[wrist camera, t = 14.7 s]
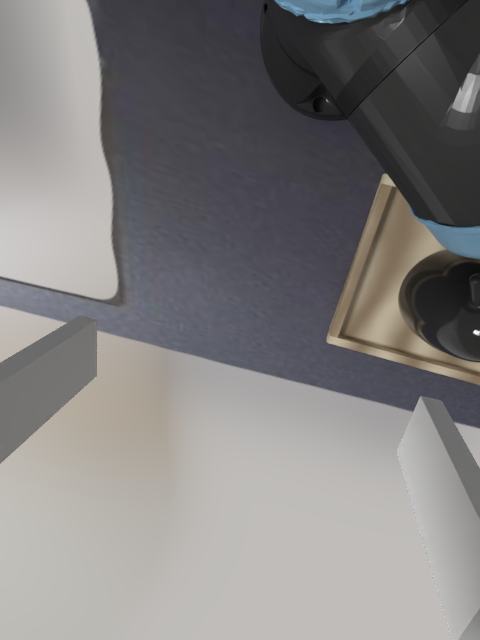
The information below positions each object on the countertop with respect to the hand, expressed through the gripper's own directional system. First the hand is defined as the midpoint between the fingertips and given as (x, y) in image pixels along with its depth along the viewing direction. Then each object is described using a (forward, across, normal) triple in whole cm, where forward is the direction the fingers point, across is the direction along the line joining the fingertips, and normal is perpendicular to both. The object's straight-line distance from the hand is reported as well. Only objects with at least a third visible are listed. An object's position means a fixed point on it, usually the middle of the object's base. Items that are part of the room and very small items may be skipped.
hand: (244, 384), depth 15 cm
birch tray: (+32, +17, -1) cm, 36 cm away
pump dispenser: (+31, +17, -1) cm, 36 cm away
